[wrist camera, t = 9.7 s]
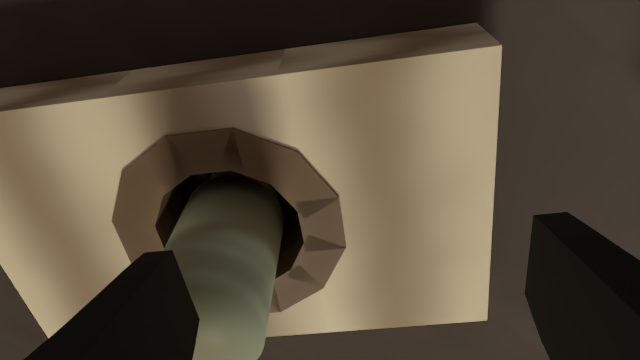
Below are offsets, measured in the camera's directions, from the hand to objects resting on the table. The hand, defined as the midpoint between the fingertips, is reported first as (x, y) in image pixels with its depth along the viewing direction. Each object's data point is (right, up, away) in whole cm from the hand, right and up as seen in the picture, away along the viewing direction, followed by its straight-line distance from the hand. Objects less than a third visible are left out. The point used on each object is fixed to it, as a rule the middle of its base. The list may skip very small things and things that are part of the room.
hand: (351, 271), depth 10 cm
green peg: (-4, +1, +11) cm, 12 cm away
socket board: (-4, +1, +11) cm, 12 cm away
